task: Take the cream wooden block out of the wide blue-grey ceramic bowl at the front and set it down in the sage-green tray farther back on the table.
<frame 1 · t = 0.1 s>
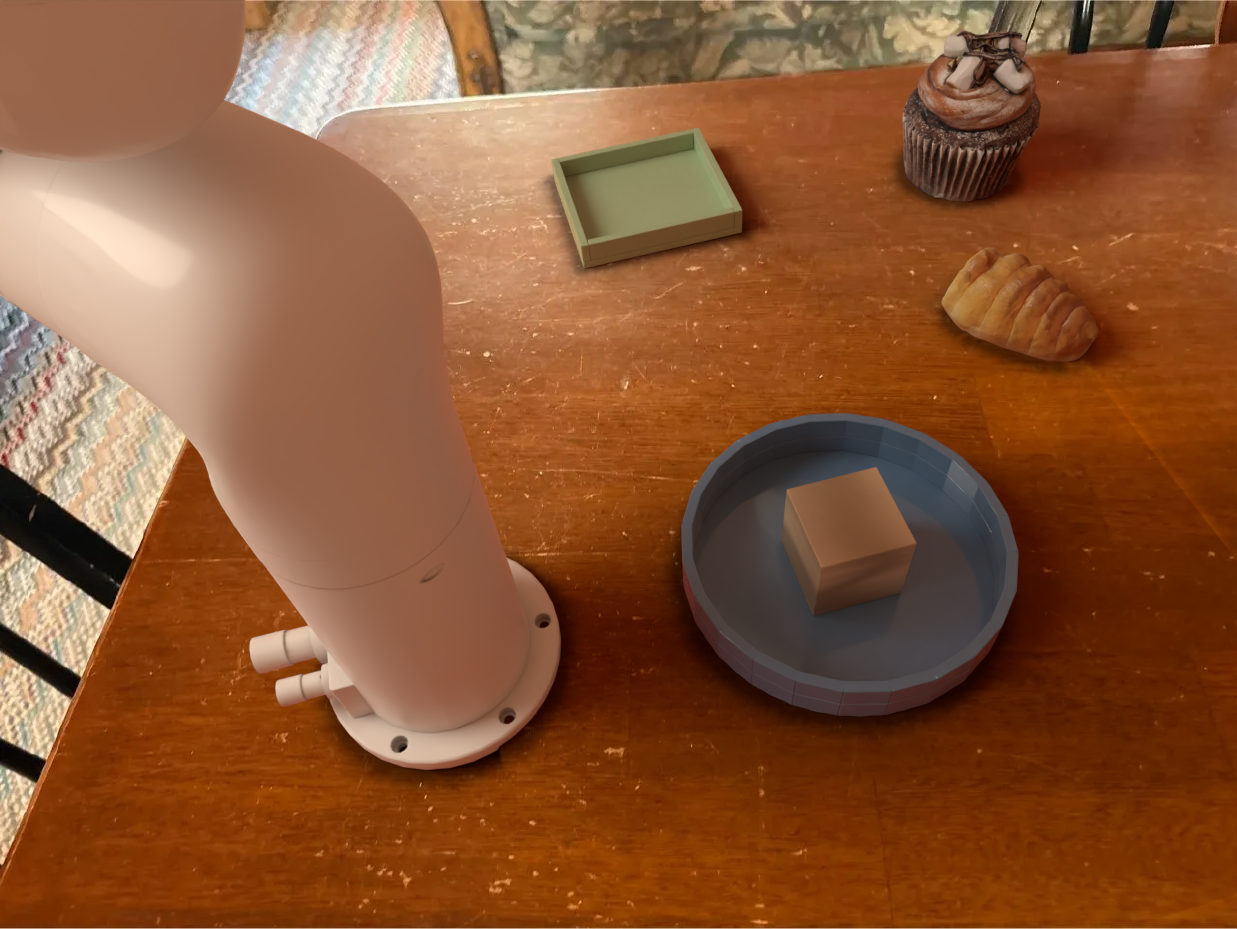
pastry: (1008, 321, 63), on the table
tray: (644, 206, 73), on the table
cupcake: (956, 171, 73), on the table
block: (839, 566, 52), point 1 cm above the table, touching bowl
bowl: (838, 572, 52), on the table
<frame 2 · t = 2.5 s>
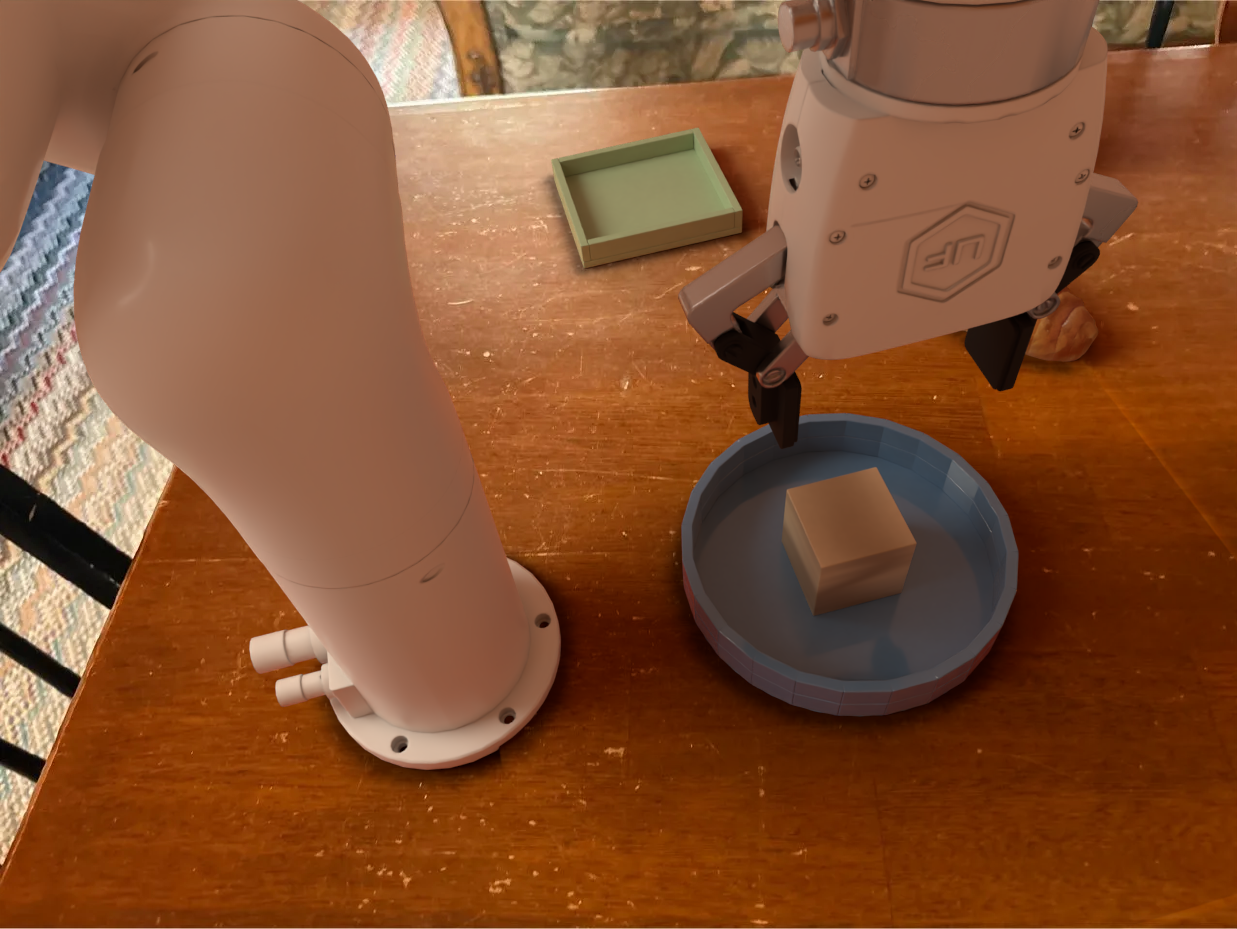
hand: (882, 395, 41), 14 cm above the table, tool pointing down, fingers open, 9 cm apart
nothing on the table moved.
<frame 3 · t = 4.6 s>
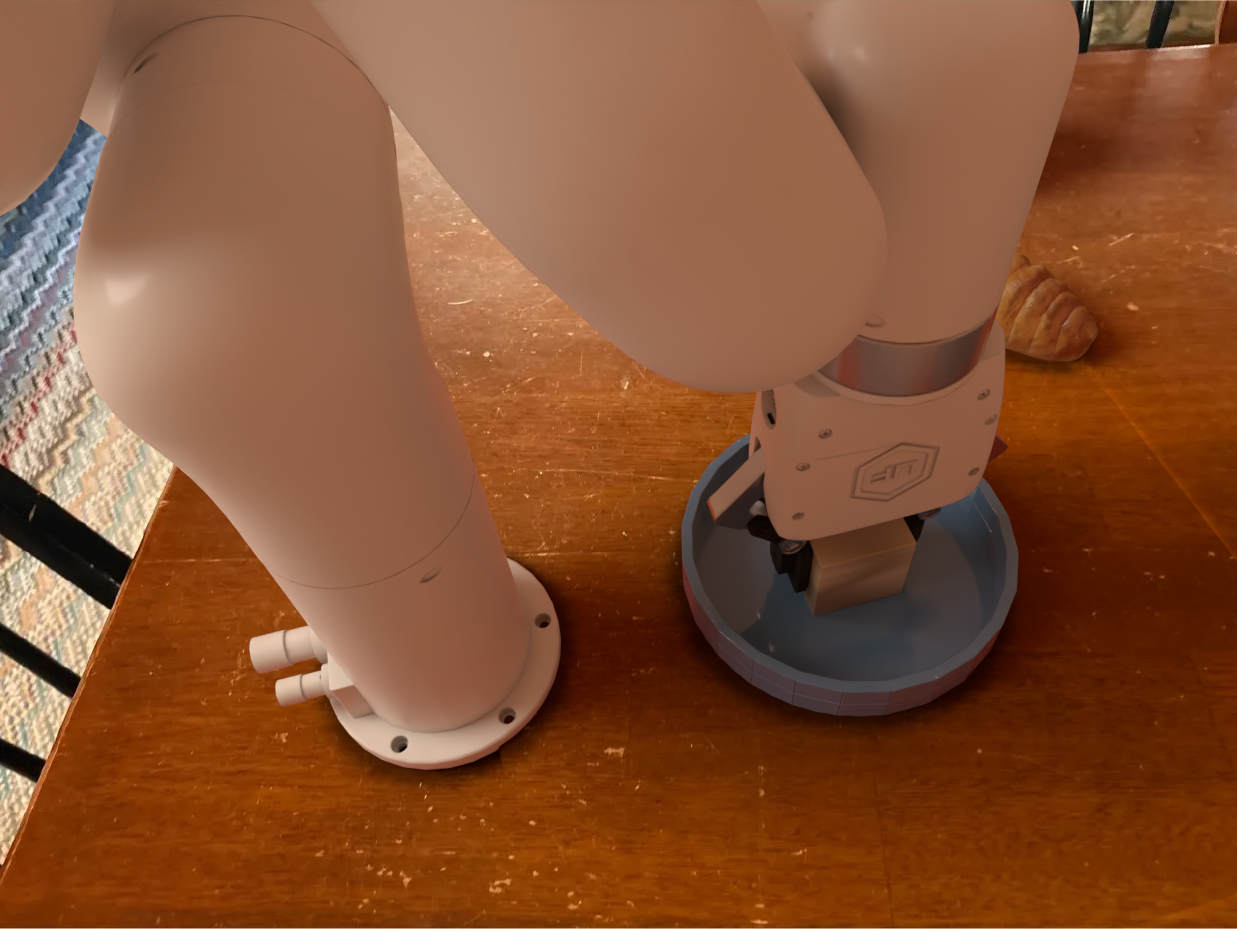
hand: (842, 554, 51), 2 cm above the table, tool pointing down, fingers closed on block, 5 cm apart
block: (839, 566, 52), point 1 cm above the table, touching bowl, gripper
everything else where it was.
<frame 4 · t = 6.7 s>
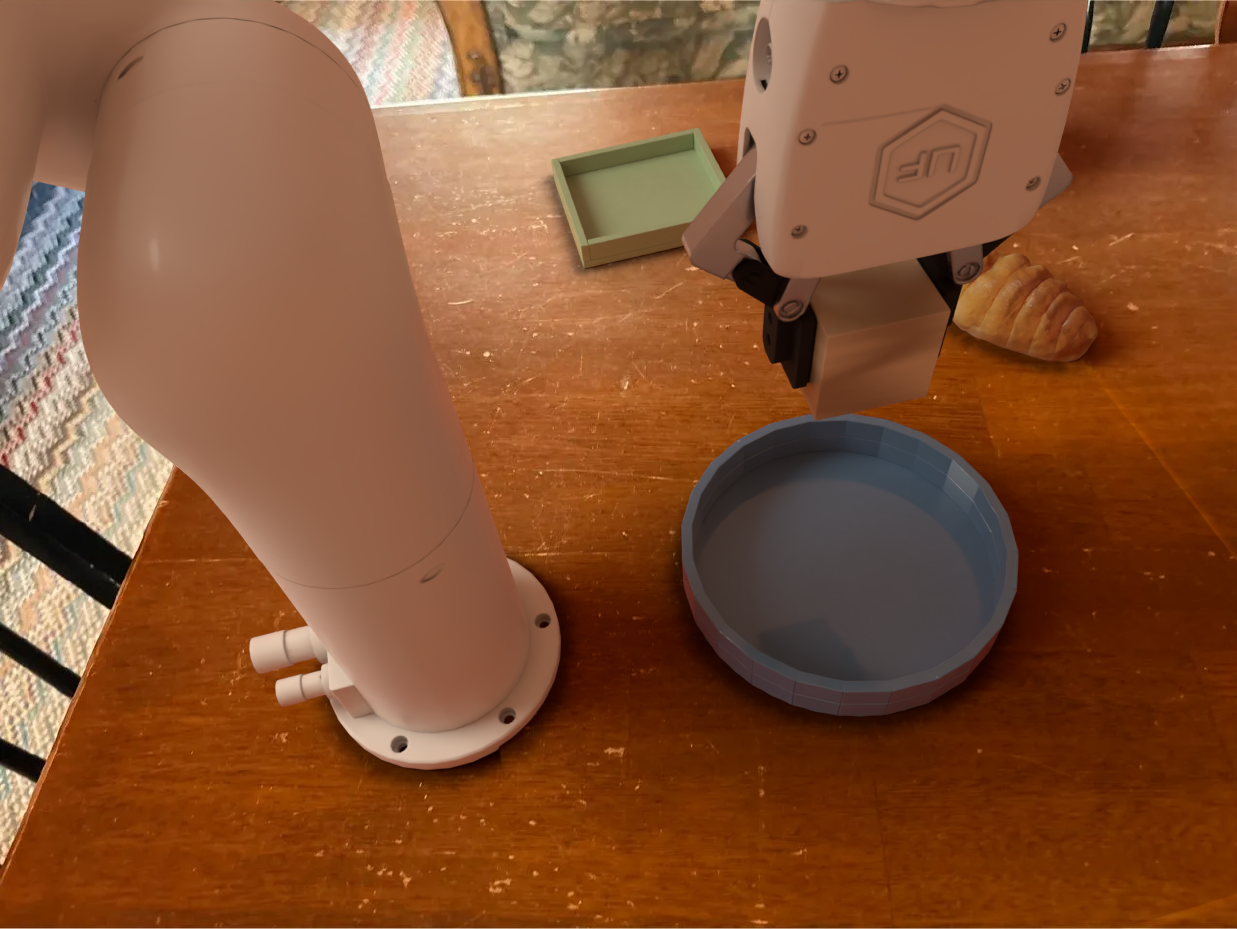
hand: (853, 347, 40), 16 cm above the table, tool pointing down, fingers closed on block, 5 cm apart
block: (849, 368, 41), point 15 cm above the table, touching gripper
everything else where it was.
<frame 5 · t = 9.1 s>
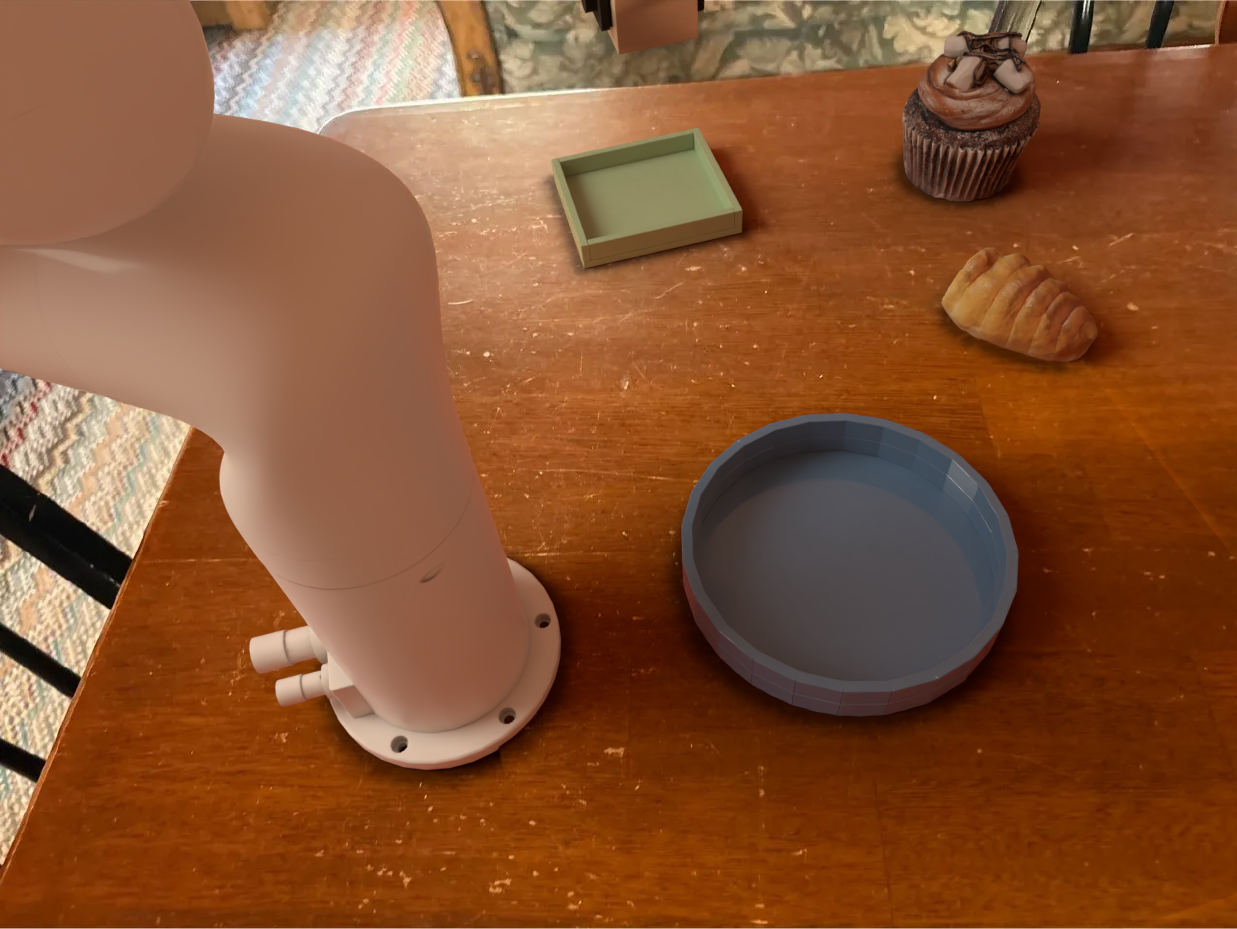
hand: (646, 7, 57), 17 cm above the table, tool pointing down, fingers closed on block, 5 cm apart
block: (648, 27, 58), point 16 cm above the table, touching gripper
everything else where it was.
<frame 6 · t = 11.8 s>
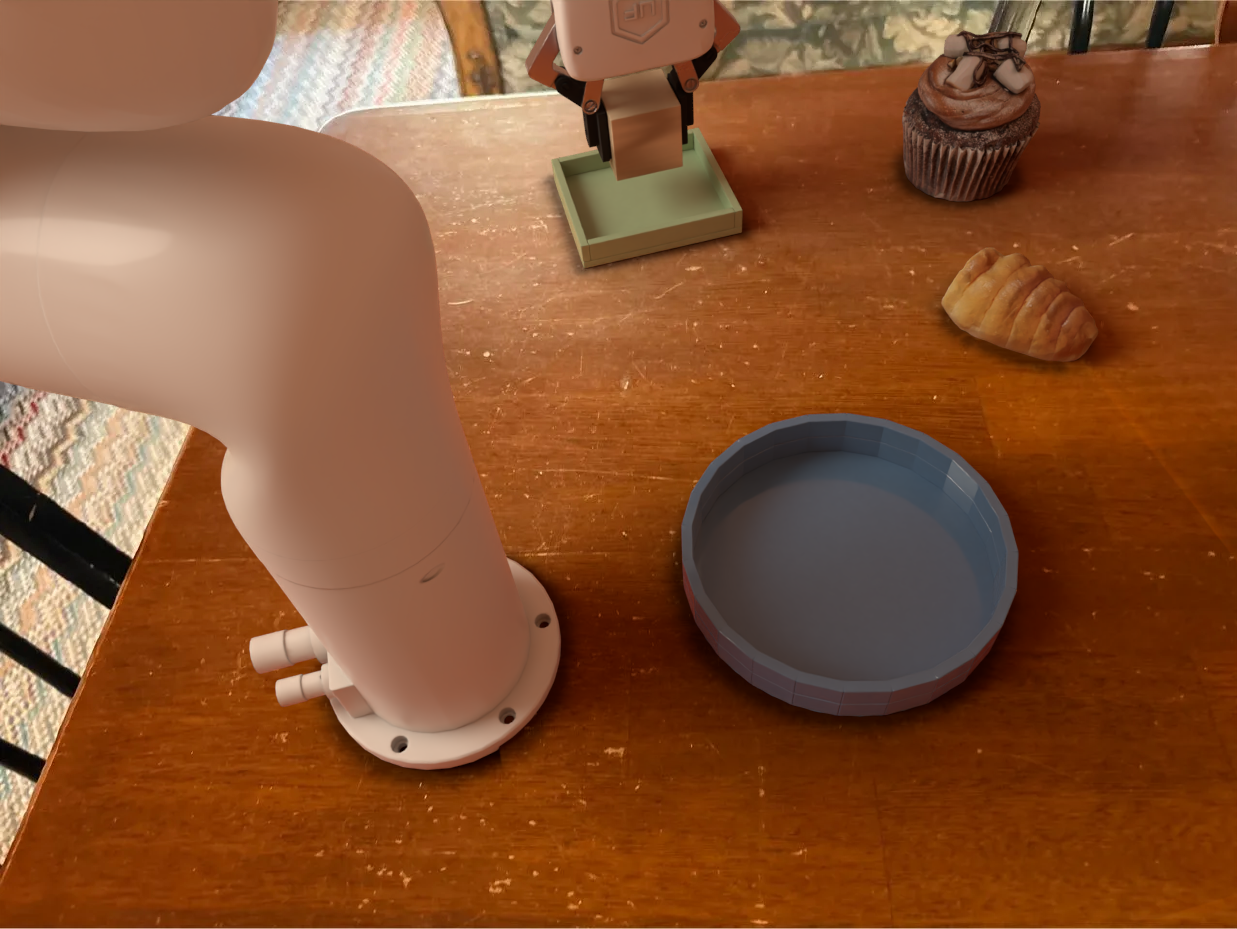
hand: (640, 140, 69), 6 cm above the table, tool pointing down, fingers closed on block, 5 cm apart
block: (641, 154, 70), point 5 cm above the table, touching gripper
everything else where it was.
when the fingers open (2 cm above the table, at t = 13.5 s): block stays where it is, resting on tray.
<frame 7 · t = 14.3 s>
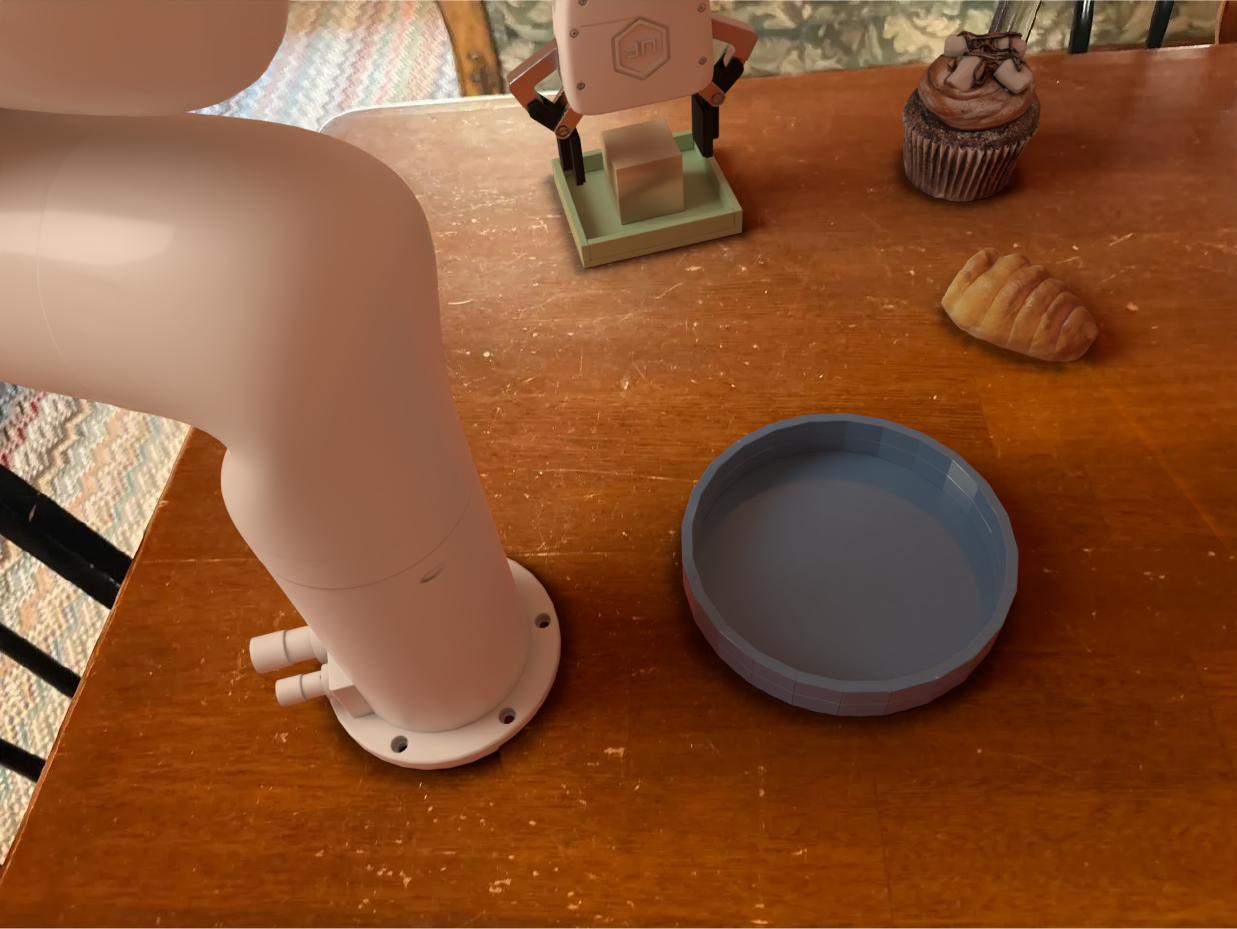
hand: (640, 161, 70), 4 cm above the table, tool pointing down, fingers open, 9 cm apart
block: (644, 199, 73), point 1 cm above the table, touching tray
everything else where it was.
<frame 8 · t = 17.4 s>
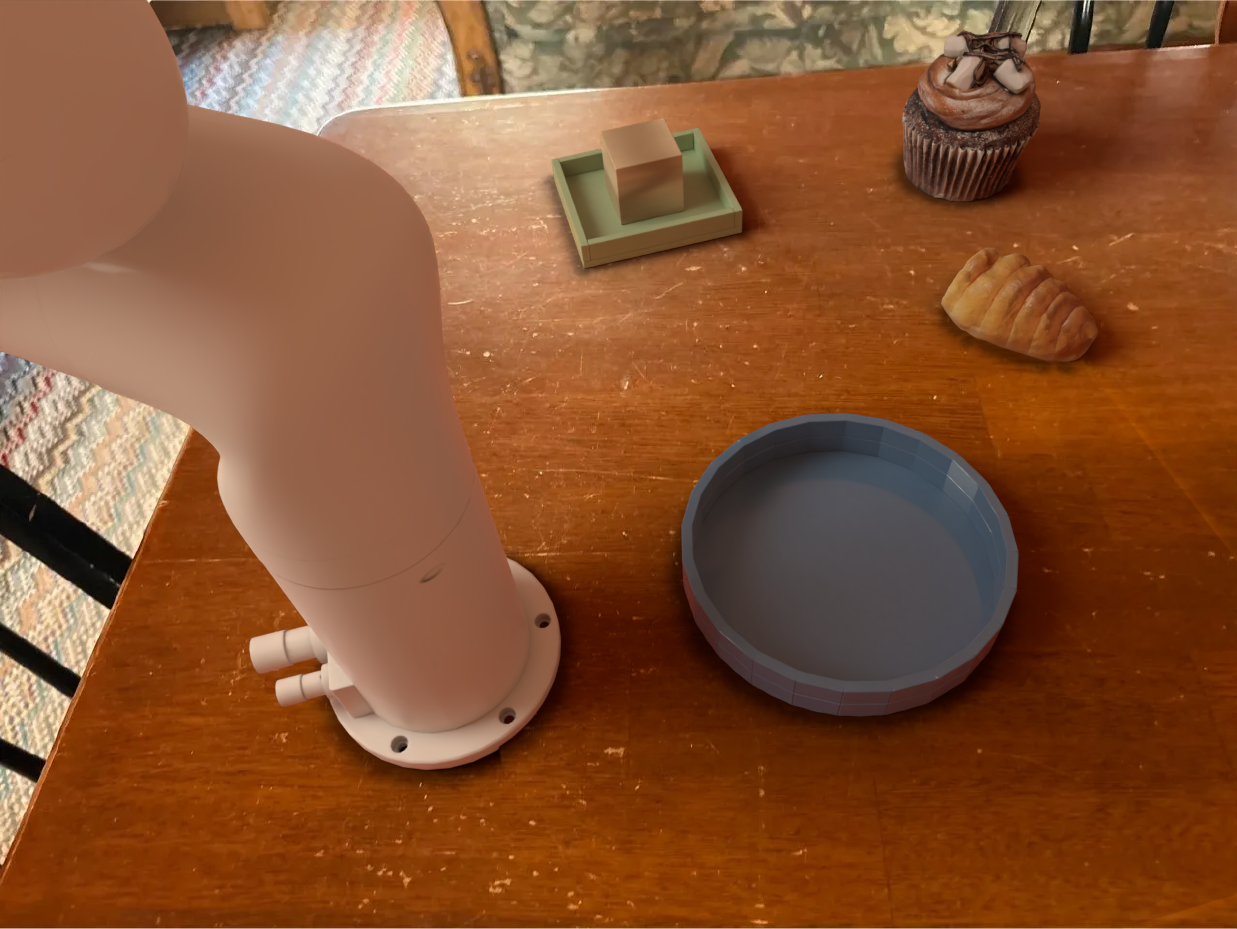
nothing on the table moved.
at the end: block inside the target area in the tray (0.1 cm from its centre), point 0.6 cm above the tray's base; block touching tray; the gripper is holding nothing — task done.
